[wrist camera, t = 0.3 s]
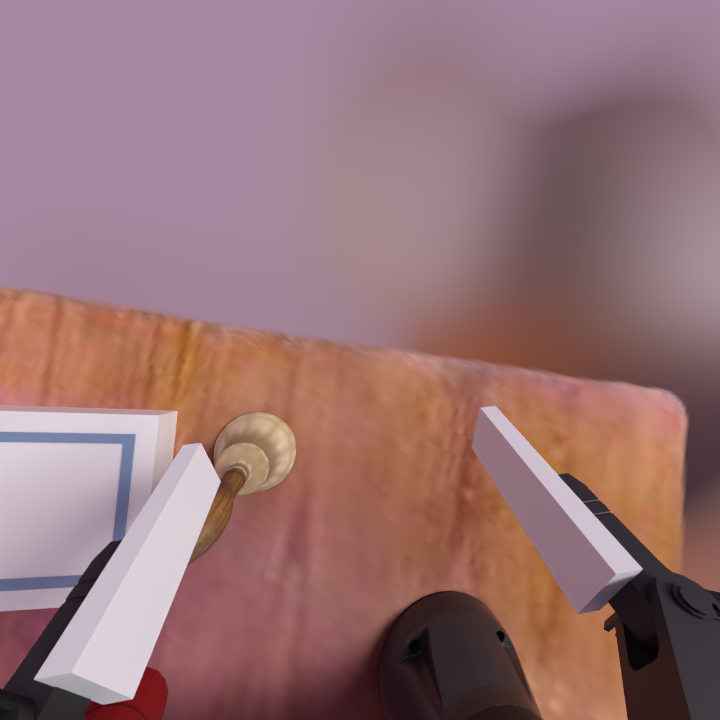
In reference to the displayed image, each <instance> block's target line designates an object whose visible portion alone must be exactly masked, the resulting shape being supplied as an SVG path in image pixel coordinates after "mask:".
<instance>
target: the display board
mask: <svg viewBox="0 0 720 720" xmlns="http://www.w3.org/2000/svg"><path fill="white" fill-rule="evenodd" d="M177 413H178V411H174V410H142V409H110V408H78V407H46V406H14V405H0V611H15V610H30V609H44V608H59V607H61V605H62V604H64V603H65V602H66V598H67V596H68V595H69V594H70V592H71V591H72V589H73V588H74V586H75V585H77V584H78V580H79V579H80V578H81V576H82V575H83V573H84V572H85V570H86V569H87V567H88V566H89V564H90V563H91V562H92V560H93V559H94V558H95V557H96V556H97V555H98V554H99V553H100V552H101V551H102V550H103V549H104V548H105V547H106V546H107V545H108V544H109V543H110V542H112V541H118V540H123V538H124V537H125V535H126V534H127V532H128V531H129V529H130V527H131V526H132V524H133V523H134V521H135V520H136V518H137V516H138V515H139V513H140V512H141V510H142V509H143V507H144V505H145V504H146V502H147V501H148V499H149V498H150V496H151V495H152V493H153V491H154V490H155V488H156V487H157V485H158V484H159V482H160V480H161V479H162V477H163V476H164V474H165V473H166V471H167V469H168V468H169V466H170V465H171V463H172V462H173V453H174V443H175V433H176V423H177Z"/></svg>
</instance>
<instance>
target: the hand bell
mask: <svg viewBox="0 0 720 720" xmlns="http://www.w3.org/2000/svg"><path fill="white" fill-rule="evenodd" d="M295 457H296V441H295V437H294V435H293V432H292V431H291V429H290V428H289V426H288V425H287V424H286V423H285V422H284V421H283V420H282V419H280V418H278V417H277V416H274V415H272V414H269V413H265V412H251V413H247V414H243V415H241V416H239V417H237V418H235V419H233V420H232V421H231V422H229V423H228V424H227V425H226V426H225V427H224V428H223V430H222V431H221V432H220V434H219V436H218V438H217V440H216V443H215V447H214V464H215V471H216V473H217V475H218V477H219V479H220V481H221V483H220V485H219V488H218V490H217V493H216V495H215V498H214V500H213V502H212V505H211V507H210V510H209V512H208V515H207V517H206V520H205V522H204V525H203V527H202V530H201V532H200V535H199V537H198V540H197V542H196V544H195V547H194V549H193V552H192V554H191V557H190V559H189V562H188V564H187V566H188V565H189V564H190V563H192V562H193V561H195V560H196V559H197V558H199V557H200V556H201V555H203V554H204V553H205V552H206V551H208V550H209V549H210V548H211V547H212V545H213V544H214V543H215V542H216V541H217V540H218V538H219V537H220V535H221V534H222V532H223V530H224V529H225V527H226V525H227V523H228V521H229V518H230V516H231V513H232V508H233V499H234V497H235V496H236V495H246V494H249V493H251V492H261V491H265V490H267V489H270V488H272V487H274V486H276V485H277V484H279V483H280V482H281V481H282V480H283V479H284V478H285V477H286V476H287V475H288V473H289V472H290V470H291V468H292V466H293V464H294V462H295Z"/></svg>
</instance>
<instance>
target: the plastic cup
mask: <svg viewBox="0 0 720 720" xmlns="http://www.w3.org/2000/svg"><path fill="white" fill-rule="evenodd" d="M167 694H168V689H167V685H166V681H165V679H164V678H163V677H162V676H161V675H160V673H159V672H158V671H155V670H153V669H150V668H148V667H146V668H145V671H144V673H143V676H142V678H141V680H140V683H139V685H138V688H137V690H136V693H135V695H134V698H133V699H131V700H126V701H120V702H115V703H110V704H105V705H103V704H100V703H97V702H94V701H93V702H92V703H91V704H90V705H89V706H88V707H87V709H86V711H85V713H84V715H85V718H86V720H162V717H163V714H164V710H165V705H166V700H167Z"/></svg>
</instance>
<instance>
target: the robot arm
mask: <svg viewBox="0 0 720 720" xmlns="http://www.w3.org/2000/svg"><path fill="white" fill-rule="evenodd" d="M471 448H472V449H473V451H474V452H475V454H476V455H477V457H478V459H479V460H480V462H481V463H482V465H483V467H484V468H485V470H486V471H487V473H488V474H489V476H490V478H491V479H492V481H493V482H494V484H495V485H496V487H497V489H498V490H499V492H500V493H501V495H502V496H503V498H504V500H505V501H506V503H507V504H508V506H509V507H510V509H511V511H512V512H513V514H514V515H515V517H516V518H517V520H518V522H519V523H520V525H521V526H522V528H523V530H524V531H525V533H526V534H527V536H528V537H529V539H530V541H531V542H532V544H533V545H534V547H535V548H536V550H537V552H538V553H539V555H540V556H541V558H542V559H543V561H544V563H545V564H546V566H547V567H548V569H549V570H550V572H551V574H552V575H553V577H554V578H555V580H556V581H557V583H558V585H559V586H560V588H561V589H562V591H563V593H564V594H565V596H566V597H567V599H568V600H569V602H570V604H571V605H572V607H573V608H574V610H575V611H576V613H577V614H581V613H586V612H591V611H597V610H600V609H601V608H602V607H604V606H605V605H606V604H607V603H608V602H609V604H610V605H611V606H612V608H613V609H614V610H615V613H614V614H613V615H612V616H610V617H609V618H608V619H607V620H606V621H605V623H604V630H606V631H608V632H609V631H610V630H611V629H613V628H614V627H615V629H616V634H615V636H616V637H617V644H618V651H619V658H620V666H621V673H622V680H623V688H624V695H625V702H626V709H627V717H628V720H720V593H719V592H714V591H709V590H706V589H704V588H702V587H701V586H700V585H699V584H697V583H695V582H693V581H692V580H690V579H688V578H686V577H685V576H682V575H679V574H676V573H673V572H672V571H670V570H669V569H668V568H666V567H665V566H664V565H663V564H662V563H661V562H660V561H659V560H658V559H657V558H656V557H655V556H654V555H653V554H652V553H651V552H650V551H649V550H648V549H647V548H646V547H645V546H644V545H643V544H642V543H641V542H640V541H639V540H638V539H637V538H636V537H635V536H634V535H633V534H632V533H631V532H630V531H629V530H628V529H627V528H626V527H625V525H624V524H623V523H622V522H621V521H620V520H619V519H618V518H617V517H616V516H615V515H614V514H611V513H610V510H609V509H608V508H607V507H606V506H605V505H604V504H603V503H602V502H600V501H599V500H598V498H597V497H596V496H595V495H594V494H593V493H592V492H591V491H590V490H589V489H588V487H587V486H586V485H585V484H583V483H582V482H580V481H579V480H577V479H576V478H574V477H573V476H571V475H570V474H568V473H566V474H560V475H557V473H556V472H555V471H554V470H553V469H552V468H551V467H550V466H549V465H548V464H547V462H546V461H545V460H544V459H543V458H542V457H541V456H540V455H539V454H538V452H537V451H536V450H535V449H534V448H533V447H532V446H531V445H530V444H529V443H528V441H527V440H526V439H525V438H524V437H523V436H522V435H521V434H520V433H519V431H518V430H517V429H516V428H515V427H514V426H513V425H512V424H511V423H510V422H509V420H508V419H507V418H506V417H505V416H504V415H503V414H502V413H501V412H500V411H499V409H498V408H497V407H496V406H492V407H484V408H480V412H479V416H478V421H477V425H476V430H475V434H474V439H473V443H472V447H471ZM220 483H221V481H220V479H219V477H218V475H217V473H216V471H215V469H214V467H213V465H212V464H211V462H210V460H209V458H208V456H207V454H206V452H205V450H204V448H203V446H202V444H201V443H196V444H188V445H183V446H182V447H181V449H180V451H179V452H178V454H177V455H176V457H175V458H174V460H173V462H172V463H171V465H170V466H169V468H168V469H167V471H166V473H165V474H164V476H163V477H162V479H161V480H160V482H159V484H158V485H157V487H156V488H155V490H154V491H153V493H152V495H151V496H150V498H149V499H148V501H147V502H146V504H145V505H144V507H143V509H142V510H141V512H140V513H139V515H138V516H137V518H136V520H135V521H134V523H133V524H132V526H131V527H130V529H129V531H128V532H127V534H126V535H125V537H124V538H123V540H118V541H112V542H110V543H109V544H108V545H107V546H106V547H105V548H104V549H103V550H102V551H101V552H100V553H99V554H98V555H97V556H96V557H95V558H94V559H93V560H92V562H91V563H90V564H89V566H88V567H87V569H86V570H85V572H84V573H83V575H82V576H81V578H80V579H79V580H78V584H77V585H75V586H74V588H73V589H72V591H71V592H70V594H69V595H68V596H67V598H66V602H65V603H64V604H62V605H61V607H60V608H59V610H58V611H57V612H56V614H55V615H54V617H53V618H52V620H51V621H50V623H49V624H48V625H47V627H46V628H45V630H44V631H43V633H42V634H41V636H40V637H39V639H38V640H37V641H36V643H35V644H34V646H33V647H32V649H31V650H30V652H29V653H28V655H27V656H26V657H25V659H24V660H23V662H22V663H21V665H20V666H19V668H18V669H17V671H16V672H15V673H14V675H13V676H12V678H11V679H10V680H9V681H8V683H7V684H6V685H5V687H4V688H3V689H0V720H86V718H85V715H84V713H85V711H86V709H87V707H88V705H89V703H90V701H91V700H92V701H94V702H97V703H100V704H103V705H105V704H110V703H115V702H120V701H126V700H131V699H133V698H134V695H135V693H136V690H137V688H138V685H139V683H140V680H141V678H142V676H143V673H144V671H145V668H146V666H147V663H148V661H149V658H150V656H151V653H152V651H153V648H154V646H155V643H156V641H157V638H158V636H159V634H160V631H161V629H162V626H163V624H164V621H165V619H166V616H167V614H168V611H169V609H170V606H171V604H172V601H173V599H174V596H175V594H176V591H177V589H178V587H179V584H180V582H181V579H182V577H183V574H184V572H185V569H186V567H187V564H188V562H189V559H190V557H191V554H192V552H193V549H194V547H195V544H196V542H197V540H198V537H199V535H200V532H201V530H202V527H203V525H204V522H205V520H206V517H207V515H208V512H209V510H210V507H211V505H212V502H213V500H214V498H215V495H216V493H217V490H218V488H219V485H220ZM379 683H380V690H381V695H382V700H383V706H384V711H385V715H386V719H387V720H543V718H542V716H541V714H540V711H539V709H538V706H537V704H536V701H535V699H534V696H533V694H532V691H531V688H530V686H529V683H528V681H527V678H526V676H525V673H524V671H523V668H522V666H521V663H520V661H519V658H518V656H517V653H516V651H515V648H514V646H513V644H512V641H511V640H510V638H509V636H508V634H507V632H506V631H505V629H504V628H503V627H502V625H501V624H500V622H499V621H498V620H497V618H496V617H495V615H494V614H493V613H492V611H491V610H490V609H489V608H488V607H487V606H486V605H485V604H484V603H483V602H481V601H480V600H478V599H477V598H475V597H473V596H470V595H468V594H464V593H460V592H442V593H437V594H434V595H431V596H428V597H426V598H424V599H422V600H420V601H419V602H417V603H416V604H414V605H413V606H412V607H410V608H409V609H408V610H407V611H406V612H405V613H404V614H403V615H402V616H401V617H400V618H399V620H398V621H397V622H396V624H395V625H394V626H393V628H392V630H391V631H390V633H389V635H388V637H387V640H386V642H385V644H384V647H383V651H382V654H381V659H380V666H379Z"/></svg>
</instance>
